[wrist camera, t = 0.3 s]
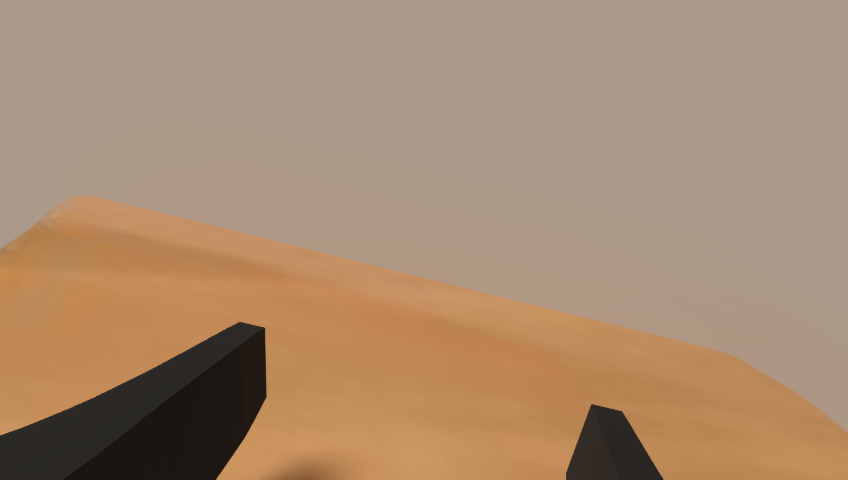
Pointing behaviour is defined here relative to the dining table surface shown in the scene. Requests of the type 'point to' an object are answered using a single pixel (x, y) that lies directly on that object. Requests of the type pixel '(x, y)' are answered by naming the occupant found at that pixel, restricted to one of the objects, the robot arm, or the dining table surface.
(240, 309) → the dining table surface
